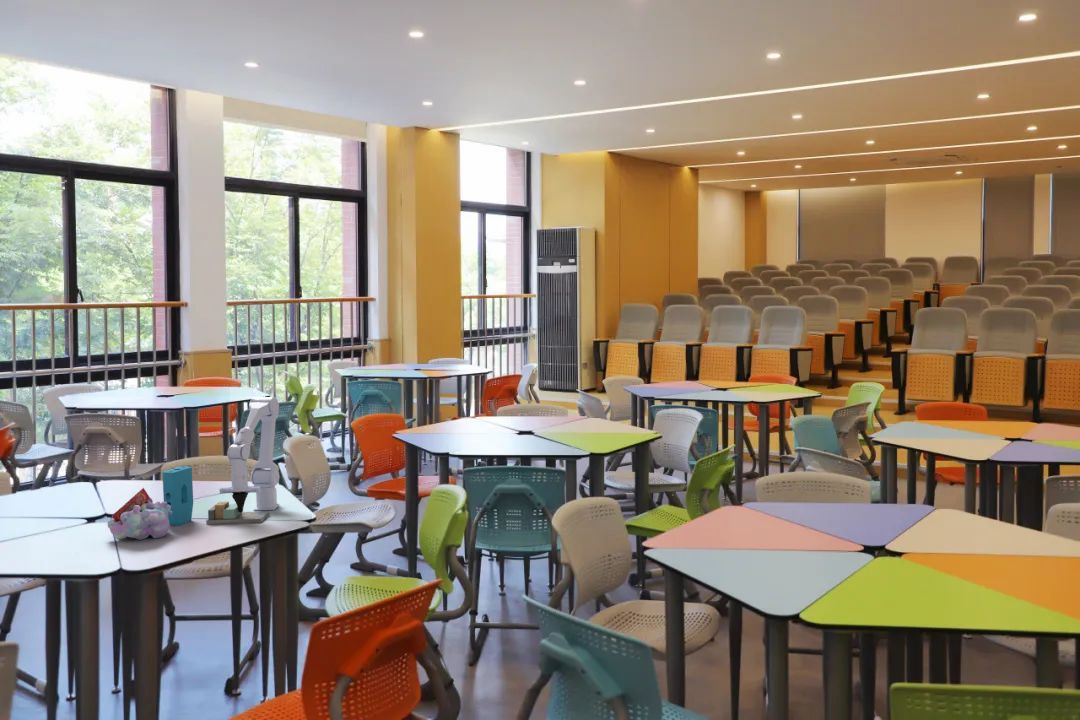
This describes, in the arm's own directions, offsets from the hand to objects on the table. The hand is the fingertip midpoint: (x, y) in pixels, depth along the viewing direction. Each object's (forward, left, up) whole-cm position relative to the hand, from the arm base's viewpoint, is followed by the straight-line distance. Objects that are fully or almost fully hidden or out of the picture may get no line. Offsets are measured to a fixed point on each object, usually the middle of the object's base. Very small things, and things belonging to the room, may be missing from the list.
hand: (240, 512), depth 347 cm
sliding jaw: (0, -3, -1) cm, 3 cm away
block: (+2, -22, -3) cm, 22 cm away
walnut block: (0, -7, -1) cm, 7 cm away
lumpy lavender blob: (+22, -29, -3) cm, 37 cm away
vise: (0, -1, -3) cm, 3 cm away
